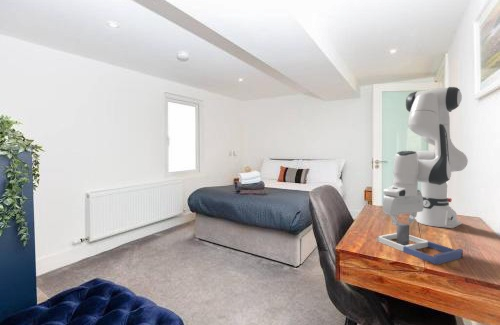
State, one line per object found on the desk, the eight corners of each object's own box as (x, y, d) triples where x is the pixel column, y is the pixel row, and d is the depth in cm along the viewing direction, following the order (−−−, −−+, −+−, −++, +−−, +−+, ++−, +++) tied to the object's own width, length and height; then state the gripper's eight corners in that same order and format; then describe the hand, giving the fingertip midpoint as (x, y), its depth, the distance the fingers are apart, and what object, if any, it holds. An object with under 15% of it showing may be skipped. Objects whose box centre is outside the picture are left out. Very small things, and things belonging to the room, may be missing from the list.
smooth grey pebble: (401, 241, 109) (401, 222, 108) (411, 244, 105) (411, 225, 104) (394, 242, 107) (394, 223, 107) (403, 246, 103) (404, 227, 102)
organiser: (400, 236, 115) (401, 229, 114) (462, 257, 92) (462, 249, 92) (376, 241, 109) (376, 234, 109) (436, 264, 87) (436, 256, 86)
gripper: (413, 188, 111) (412, 219, 112) (380, 190, 103) (379, 223, 104) (428, 190, 106) (427, 223, 106) (394, 192, 98) (393, 228, 98)
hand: (403, 223), depth 105 cm, fingers open, 8 cm apart
